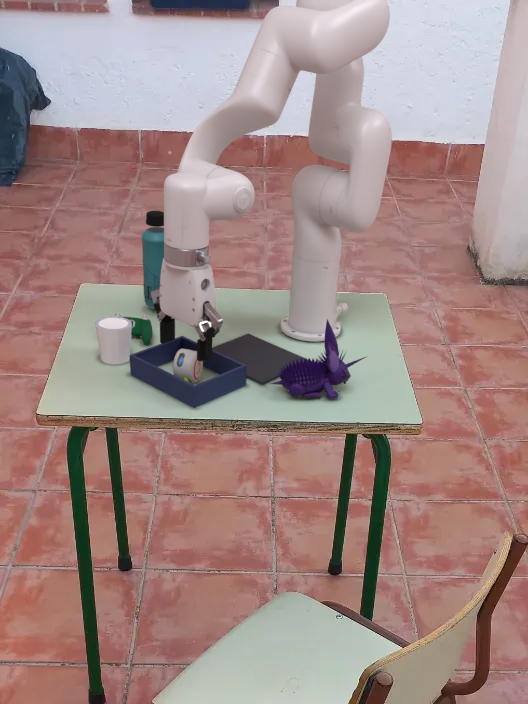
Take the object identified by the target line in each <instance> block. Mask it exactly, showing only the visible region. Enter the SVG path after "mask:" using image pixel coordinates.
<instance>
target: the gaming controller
mask: <svg viewBox="0 0 528 704" xmlns="http://www.w3.org/2000/svg"><path fill="white" fill-rule="evenodd" d="M114 316H117V317H123V318H126V319H129V320H130V321H131V323H132V330H131V337H136V338H141V339H142V342H143V345H146V346H149V345H150V344H151V342H152V339H153V325H152V322H151V320H150V318H149V317H148V316H147V315H145V314H143V315H142V317H141V318H140V317H134V316H133V317H132V316H122V315H121V313H119V312H116V313H115V314H114Z"/></svg>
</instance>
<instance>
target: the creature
mask: <svg viewBox="0 0 528 704" xmlns="http://www.w3.org/2000/svg"><path fill="white" fill-rule="evenodd" d="M343 352H344V350H342V351H341V352H340V351H339V343H338V341H337V337H335V334H334V332H333V330H332V328H331V326H330V324H329V321H328V319H327V323H326V329H325V341H324V354H323V353H322V352H320V355H318V354H317V358H314V357H313V358H312V359H311V358H310V357H308V358H306V357H304V358H305V359H304V363H303V360H302V359H300V363H299V361H298V359H296V364H295V362H294V360H293V362H292V363H293V366H292V364H291V362H290V361H289V366H288V365H287V363H286V368H285V366H284V365H283V367H284V368H283V369H284V370H283V369H282V368H281V371H282V372H281V371H280V370H279V371H280V374H281V375H280V374H279V373H278V374H279V376H280V377H279V378H280V380H277V381H275V382H274V381H273V382H270V385H281V386H282V387H283V388H284V389H285V390H286V391H287V392H288V394H289V395H290V397H293V398H305V399H312V398H318V397H320V396H321V397H323V396H324V394H323V393H321V392H324V393H325V395H326V397H327V398H328V399H330V400H335V399H337V398H338V397H339V398H340V397H342V398H343V396H342V395H340V393H339V392H340V390H338V391H336V390H335V389H334V387H333V386H339V385H341V384H343V385H346V383H347V382H348V381H349V379H351V373H350V371H349V368H350V367H352V366H353V365H355V364H357V363H358V362H360V361H363V360H364V359H366V358H367V356H364V357H362V358H358V359H356V360H353V361H351V362H349V363H346V362H345V361H343V360H344V358H345V356H346V354H347V352H345V353H344V354H343ZM340 353H341V354H340ZM342 355H343V356H342ZM306 359H308V362H307V360H306ZM322 394H323V395H322Z"/></svg>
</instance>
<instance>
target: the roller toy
mask: <svg viewBox="0 0 528 704" xmlns="http://www.w3.org/2000/svg"><path fill="white" fill-rule="evenodd" d="M172 362H173V363H172V373H173V375H175V376H177V377H179V378H181V379H183V380H185V381H187V382H189V383H191V384H195V383H196V384H197V382H198V381H199V380H200V378H201V376H202V374H203V373H202V372H203V368H204V367H203V361H201V362H200V361H198V360H197V351H192V350H189V349H180V350H178V351H177V353H176V355H175V358H174V360H173V361H172Z"/></svg>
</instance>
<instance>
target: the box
mask: <svg viewBox="0 0 528 704" xmlns="http://www.w3.org/2000/svg"><path fill="white" fill-rule="evenodd" d="M180 349H189V350H192V351H197V341H195V340H193V339H190V338H188V337H186V336H184V335H181V336H178V337H175V340H173V341H170V342H167V343H165V344H162V343H158V344H156V345H154V346H153V345H152V346H151V347H148V348H145V349H142V350H140V351H137V352H134V353H132V354H131V353H130V360H129V368H130V369H129V370H130V372H129V373H130V376H131V377H133V378H135V379H137V380H139V381H141V382H142V383H145V384H146V385H149V386H151V387H153V388H155V389H157V390H159V391H161V392H163V393H164V394H166V395H168V396H170V397H172V398H174V399H176V400H178V401H180V402H182V403H184V404H186V405H187V406H189V407H192V408H193V409H196V408H198V407H200V406H203V405H204V404H207V403H209V402H212V401H214V400H216V399H218V398H221V397H223V396H225V395H228V394H229V393H232V392H234V391H237V390H239V389H241V388H243V387H245V386H247V377H246V371H247V365H245V364H242V363H240V362H238V361H236V360H234V359H232V358H229V357H227V356H225V355H223V354H221V353H219V352H216V351H214V350H212V357H211V358H209V359H206V360H204V361H203V368H204V369H206V370H209V371H211V372H213V373H215V374H217V375H216V376H213V377H211V378H208V379H206V380H203V381H201V382H199V383H196V384H194V383H189V382H187V381H185V380H183V379H181V378H179V377H177V376H175V375H174V374H172V373H171V372H169V371H166V370H165V369H162V368H161V367H160V366H163V365H165V364H168V363H170V362H174V358H175V355H176V353H177V351H178V350H180Z"/></svg>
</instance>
